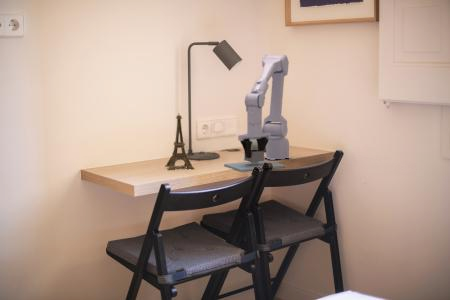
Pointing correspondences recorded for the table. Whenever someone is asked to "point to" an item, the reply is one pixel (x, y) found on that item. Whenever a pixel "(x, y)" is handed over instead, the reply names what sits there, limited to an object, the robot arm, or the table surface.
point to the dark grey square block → (256, 156)
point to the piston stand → (251, 165)
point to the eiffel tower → (177, 144)
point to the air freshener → (255, 144)
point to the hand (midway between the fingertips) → (254, 157)
